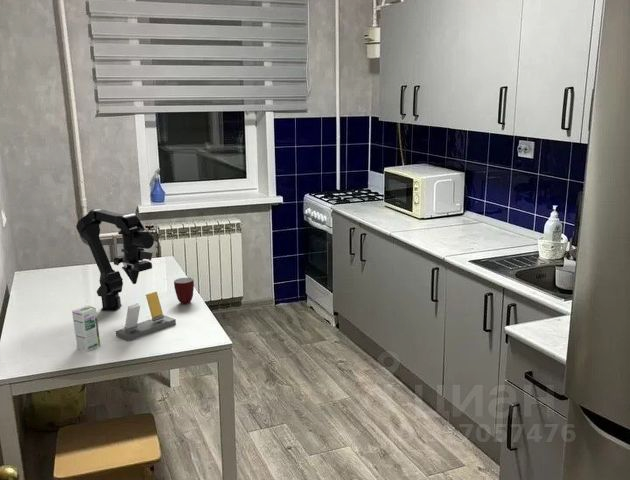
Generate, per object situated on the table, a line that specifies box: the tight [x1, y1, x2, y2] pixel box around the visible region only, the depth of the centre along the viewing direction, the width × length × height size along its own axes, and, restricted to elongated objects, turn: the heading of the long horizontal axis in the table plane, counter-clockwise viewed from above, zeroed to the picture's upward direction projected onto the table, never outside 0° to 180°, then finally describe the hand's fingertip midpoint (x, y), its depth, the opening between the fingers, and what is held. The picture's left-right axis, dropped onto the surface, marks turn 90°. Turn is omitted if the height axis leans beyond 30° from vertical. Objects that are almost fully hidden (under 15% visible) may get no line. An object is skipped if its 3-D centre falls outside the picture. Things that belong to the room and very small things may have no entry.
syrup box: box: [71, 305, 102, 352], centre depth 212 cm, size 6×6×14 cm
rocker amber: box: [145, 291, 165, 322], centre depth 231 cm, size 2×4×11 cm, turn 140°
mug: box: [173, 277, 195, 305], centre depth 255 cm, size 10×8×10 cm
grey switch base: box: [115, 314, 177, 342], centre depth 228 cm, size 21×8×2 cm, turn 140°
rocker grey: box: [124, 303, 141, 331], centre depth 221 cm, size 2×4×11 cm, turn 140°
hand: (134, 283), depth 242 cm, fingers closed
